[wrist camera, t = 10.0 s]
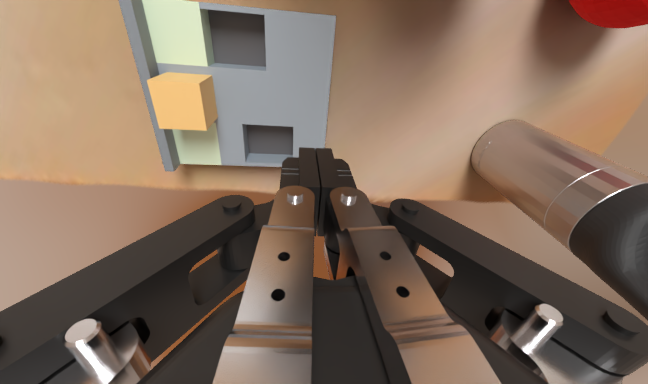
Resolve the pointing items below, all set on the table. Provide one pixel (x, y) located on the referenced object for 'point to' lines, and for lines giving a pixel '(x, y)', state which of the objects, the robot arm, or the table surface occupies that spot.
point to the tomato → (612, 12)
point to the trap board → (238, 77)
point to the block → (183, 101)
